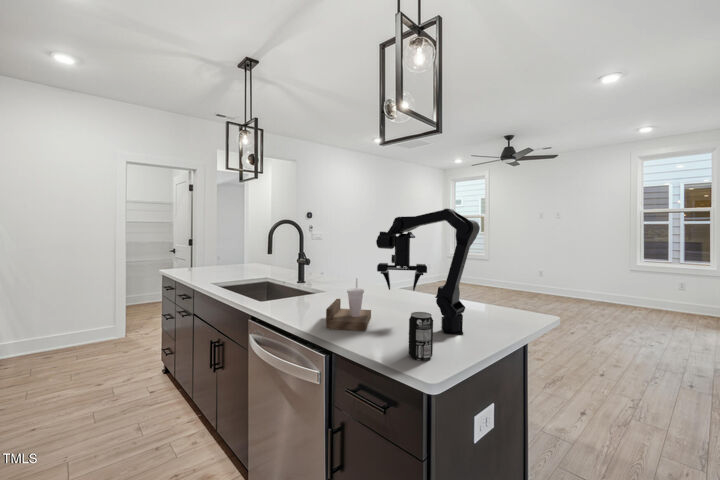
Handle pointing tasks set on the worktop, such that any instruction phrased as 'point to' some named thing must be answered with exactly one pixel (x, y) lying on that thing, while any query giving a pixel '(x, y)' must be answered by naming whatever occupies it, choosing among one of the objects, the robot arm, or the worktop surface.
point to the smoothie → (355, 301)
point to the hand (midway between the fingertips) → (401, 290)
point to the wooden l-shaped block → (346, 318)
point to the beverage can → (420, 336)
